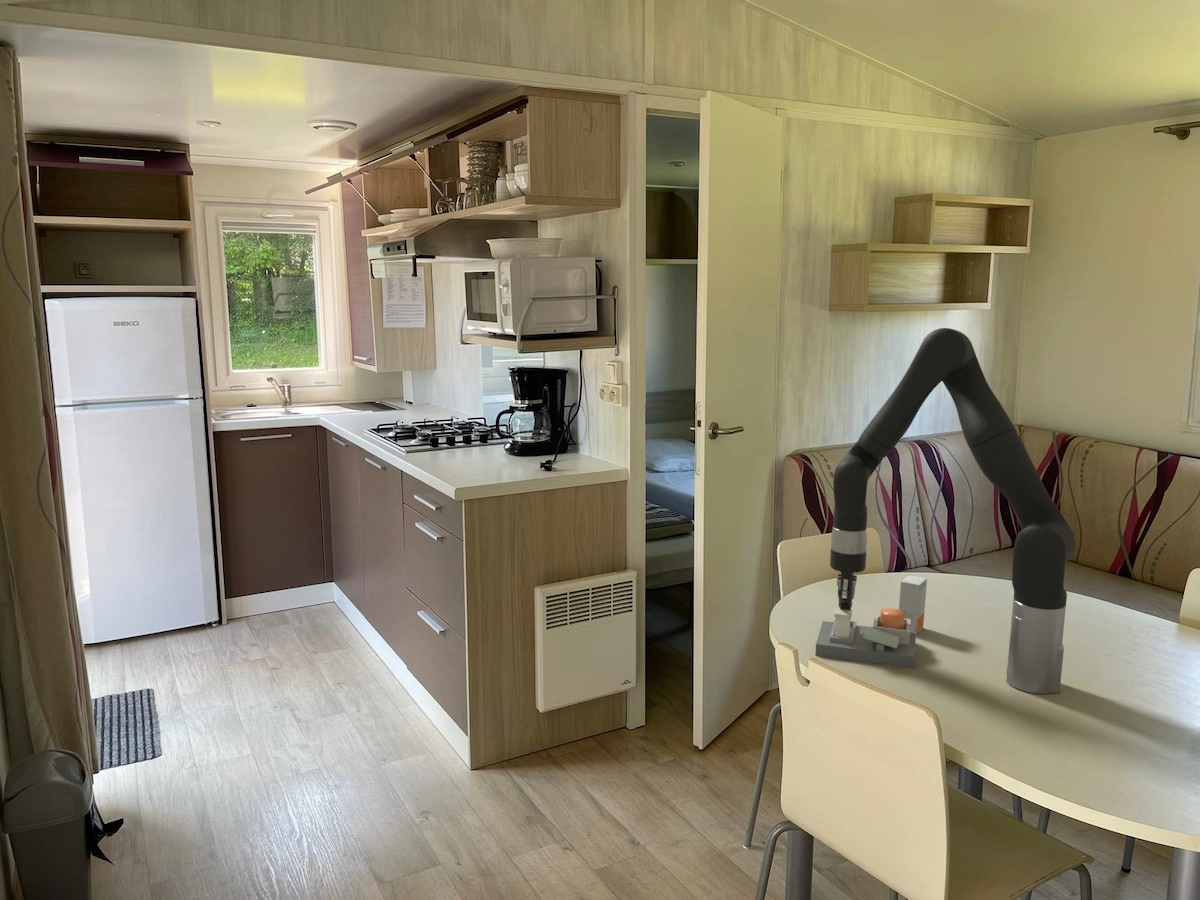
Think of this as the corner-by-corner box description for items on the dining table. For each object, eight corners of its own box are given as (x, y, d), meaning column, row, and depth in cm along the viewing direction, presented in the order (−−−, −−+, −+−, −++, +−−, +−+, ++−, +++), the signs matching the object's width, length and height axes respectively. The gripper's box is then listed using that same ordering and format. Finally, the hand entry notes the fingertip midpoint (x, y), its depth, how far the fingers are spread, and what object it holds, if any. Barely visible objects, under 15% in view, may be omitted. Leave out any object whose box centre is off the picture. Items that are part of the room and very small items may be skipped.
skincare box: (915, 635, 201) (919, 585, 199) (896, 631, 204) (900, 581, 202) (924, 627, 206) (927, 578, 204) (905, 623, 209) (908, 574, 206)
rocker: (897, 641, 190) (898, 636, 189) (896, 648, 186) (898, 643, 186) (864, 630, 192) (865, 625, 191) (862, 637, 188) (864, 632, 188)
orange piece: (903, 631, 196) (905, 609, 195) (903, 640, 192) (904, 617, 191) (879, 628, 198) (881, 607, 197) (878, 636, 193) (880, 615, 192)
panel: (914, 643, 197) (916, 619, 196) (914, 668, 184) (916, 643, 183) (822, 631, 204) (823, 608, 203) (815, 655, 191) (816, 630, 190)
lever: (850, 635, 194) (852, 610, 193) (849, 641, 191) (851, 615, 190) (834, 633, 195) (836, 608, 194) (833, 639, 192) (834, 613, 191)
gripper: (864, 558, 187) (860, 636, 190) (868, 540, 199) (864, 614, 202) (827, 554, 189) (824, 631, 192) (833, 537, 201) (830, 610, 204)
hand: (844, 622), depth 197 cm, fingers closed
